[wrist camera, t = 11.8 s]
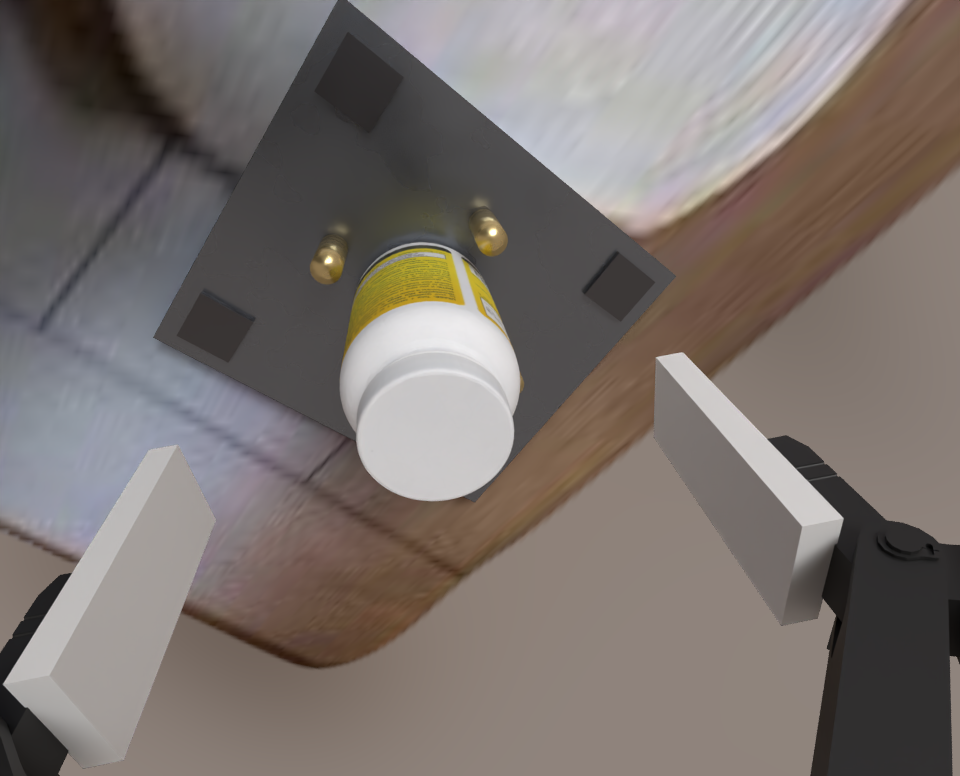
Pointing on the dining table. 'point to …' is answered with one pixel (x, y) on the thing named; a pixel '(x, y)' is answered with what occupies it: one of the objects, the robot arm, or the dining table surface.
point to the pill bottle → (428, 374)
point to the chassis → (399, 235)
